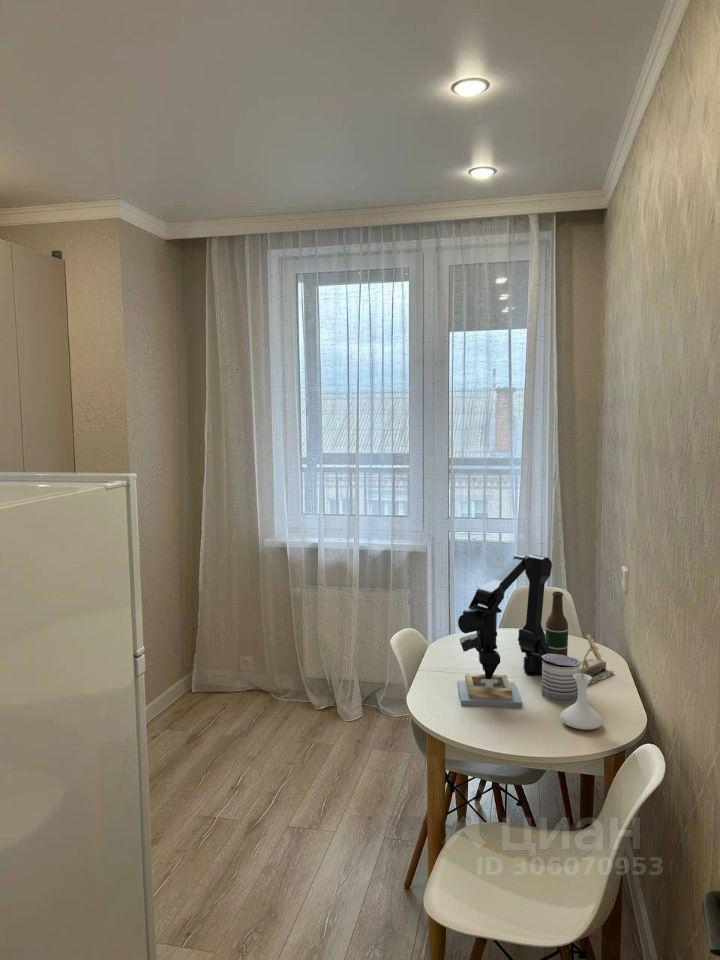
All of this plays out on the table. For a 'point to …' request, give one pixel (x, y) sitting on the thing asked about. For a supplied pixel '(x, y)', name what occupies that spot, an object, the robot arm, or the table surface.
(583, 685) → the flower in vase
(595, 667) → the packaged product
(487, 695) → the oak loop
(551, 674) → the can
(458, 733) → the table surface
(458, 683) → the hook board
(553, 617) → the beer bottle
